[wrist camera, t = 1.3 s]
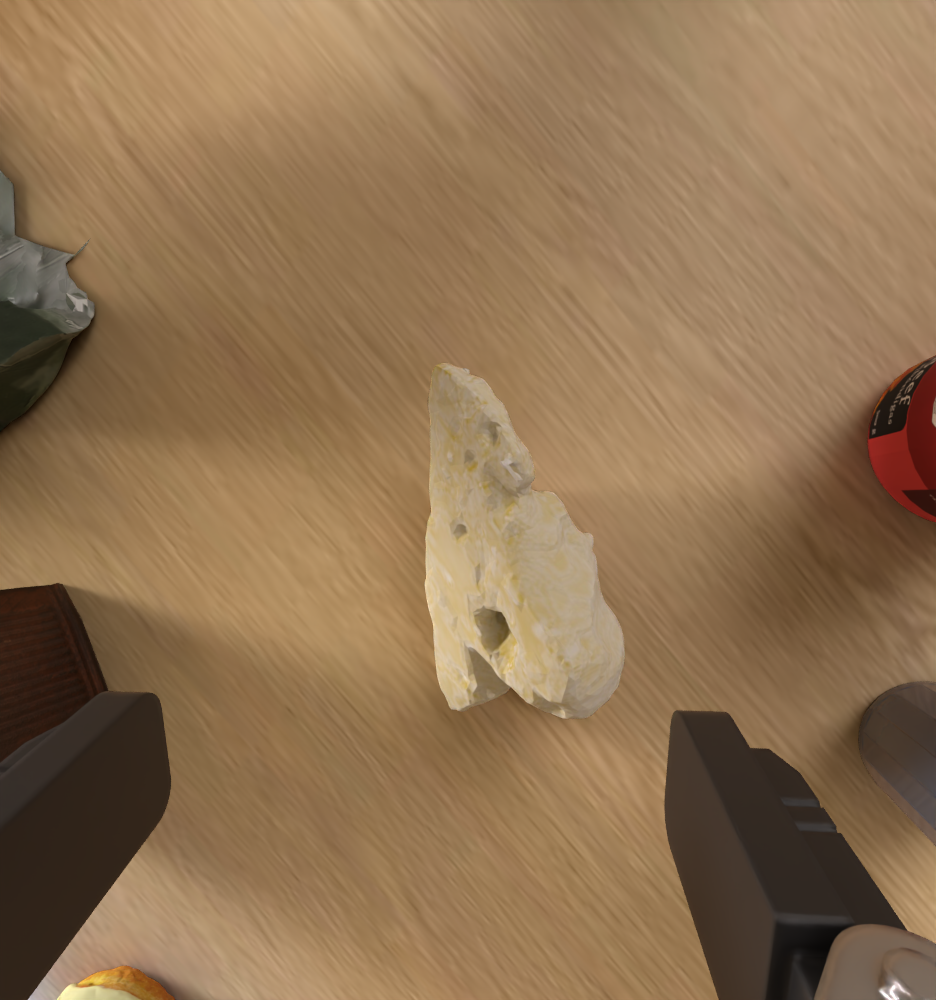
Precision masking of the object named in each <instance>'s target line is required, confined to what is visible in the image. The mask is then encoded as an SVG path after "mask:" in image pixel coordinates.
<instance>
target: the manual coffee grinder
mask: <svg viewBox="0 0 936 1000" xmlns="http://www.w3.org/2000/svg"><path fill="white" fill-rule="evenodd" d="M105 691H108V688H107V685H106V683H105V680H104V678H103V675H102V672H101V670H100V667H99V664H98V662H97V659H96V656H95V654H94V651H93V648H92V646H91V643H90V641H89V638H88V635H87V633H86V630H85V627H84V625H83V622H82V620H81V618H80V616H79V614H78V612H77V611H76V609H75V607H74V605H73V603H72V601H71V599H70V598H69V596H68V594H67V592H66V590H65V588H64V586H63V585H62V584H59V583H56V584H53V585H46V586H34V587H23V588H14V589H6V590H0V763H1V762H2V761H3V760H4V759H6V758H7V757H8V756H9V755H10V754H12V753H13V752H14V751H15V750H17V749H18V748H19V747H20V746H22V745H23V744H24V743H25V742H27V741H29V740H31V739H33V738H35V737H37V736H39V735H41V734H43V733H44V732H46V731H48V730H50V729H52V728H54V727H56V726H58V725H60V724H62V723H64V722H65V721H66V720H68V719H69V718H70V717H71V716H72V715H73V714H75V713H76V712H77V711H78V710H79V709H81V708H82V707H83V706H84V705H85V704H87V703H88V702H89V701H90V700H91V699H93V698H94V697H95V696H96V695H98V694H99V693H101V692H105Z"/></svg>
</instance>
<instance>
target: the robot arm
mask: <svg viewBox="0 0 936 1000" xmlns="http://www.w3.org/2000/svg"><path fill="white" fill-rule="evenodd" d="M170 789H171V774H170V767H169V759H168V752H167V744H166V737H165V729H164V722H163V714H162V707H161V703H160V700H159V699H158V697H157V696H156V695H155V694H153V693H147V692H114V691H105V692H101V693H99V694H98V695H96V696H95V697H94V698H93V699H91V700H90V701H89V702H88V703H87V704H85V705H84V706H83V707H82V708H81V709H79V710H78V711H77V712H76V713H75V714H73V715H72V716H71V717H70V718H69V719H68V720H66V721H65V722H64V723H62V724H60V725H58V726H56V727H54V728H52V729H50V730H48V731H46V732H44V733H43V734H41V735H39V736H37V737H35V738H33V739H31V740H29V741H27V742H25V743H24V744H23V745H22V746H20V747H19V748H18V749H17V750H15V751H14V752H13V753H12V754H10V755H9V756H8V757H7V758H6V759H4V760H3V761H2V762H1V763H0V1000H28V998H29V997H30V996H31V994H32V993H33V992H34V990H35V989H36V988H37V986H38V985H39V984H40V982H41V981H42V980H43V978H44V977H45V976H46V974H47V973H48V971H49V970H50V969H51V967H52V966H53V965H54V963H55V962H56V961H57V959H58V958H59V957H60V955H61V954H62V953H63V951H64V950H65V949H66V947H67V946H68V944H69V943H70V942H71V940H72V939H73V938H74V936H75V935H76V934H77V932H78V931H79V930H80V928H81V927H82V926H83V924H84V923H85V922H86V920H87V919H88V917H89V916H90V915H91V913H92V912H93V911H94V909H95V908H96V907H97V905H98V904H99V903H100V901H101V900H102V899H103V897H104V896H105V895H106V893H107V892H108V890H109V889H110V888H111V886H112V885H113V884H114V882H115V881H116V880H117V878H118V877H119V876H120V874H121V873H122V872H123V870H124V869H125V868H126V866H127V865H128V863H129V862H130V861H131V859H132V858H133V857H134V855H135V854H136V853H137V851H138V850H139V849H140V847H141V846H142V845H143V843H144V842H145V841H146V839H147V838H148V836H149V835H150V834H151V832H152V831H153V830H154V828H155V827H156V826H157V824H158V823H159V821H160V820H161V818H162V816H163V814H164V812H165V809H166V806H167V804H168V800H169V796H170ZM665 822H666V830H667V836H668V841H669V845H670V849H671V852H672V855H673V858H674V861H675V864H676V867H677V871H678V874H679V877H680V880H681V883H682V886H683V889H684V892H685V895H686V899H687V902H688V905H689V908H690V911H691V914H692V917H693V920H694V924H695V927H696V930H697V933H698V936H699V939H700V942H701V945H702V948H703V952H704V955H705V958H706V961H707V964H708V967H709V970H710V973H711V977H712V980H713V983H714V986H715V989H716V992H717V995H718V998H719V1000H936V944H935V943H933V942H931V941H930V940H928V939H926V938H923V937H921V936H919V935H916V934H914V933H912V932H909V931H907V929H906V928H905V926H904V925H903V923H902V922H901V920H900V919H899V918H898V916H897V915H896V913H895V912H894V910H893V909H892V907H891V906H890V904H889V903H888V901H887V900H886V899H885V897H884V896H883V894H882V893H881V891H880V890H879V888H878V887H877V885H876V884H875V882H874V881H873V879H872V878H871V877H870V875H869V874H868V872H867V871H866V869H865V868H864V866H863V865H862V863H861V862H860V860H859V859H858V857H857V856H856V855H855V853H854V852H853V850H852V849H851V847H850V846H849V844H848V843H847V841H846V840H845V838H844V837H843V835H842V834H841V833H837V830H836V825H835V824H834V822H833V821H832V819H831V818H830V816H829V815H828V814H827V812H826V811H825V809H824V808H821V807H820V803H819V800H818V799H817V797H816V796H815V794H814V793H813V792H812V790H811V789H810V787H809V786H808V784H807V783H806V781H805V780H804V778H803V777H802V775H801V774H800V773H799V772H798V771H797V770H795V769H794V768H793V767H791V766H790V765H789V764H788V763H786V762H785V761H784V760H782V759H781V758H780V757H779V756H777V755H776V754H775V753H773V752H772V751H771V750H770V749H759V748H750V747H749V745H748V744H747V742H746V740H745V739H744V737H743V735H742V734H741V732H740V730H739V729H738V727H737V725H736V724H735V722H734V720H733V719H732V717H731V716H730V714H728V713H727V712H713V711H681V710H676V711H675V712H674V713H673V715H672V719H671V726H670V738H669V751H668V763H667V776H666V788H665Z"/></svg>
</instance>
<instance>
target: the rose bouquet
mask: <svg viewBox="0 0 936 1000" xmlns="http://www.w3.org/2000/svg"><path fill="white" fill-rule="evenodd" d="M90 239H91V238H90ZM90 239H89V240H90ZM88 242H89V241H88ZM88 242H87V243H88ZM87 243H86V244H87ZM86 244H85V245H84V246H83V247H82V248H81V249H80V250H79V251H78V252H77V253H76V254H75V255H77V254H78V253H79V252H80V251H82V250H83V249H84V247H85V246H86ZM75 255H72V254H69V253H65V252H62V251H58V250H55V249H51V248H47V247H44V246H41V245H38V244H36V243H33V242H31V241H28V240H25V239H23V238H20V237H17V236H15V225H14V190H13V184H12V182H10V180H9V178H7V177H5V176H4V174H3V173H2V172H1V170H0V431H1V430H2V429H3V428H5V427H6V426H7V425H8V424H9V423H10V422H11V421H13V420H15V419H16V418H18V417H20V416H21V415H23V414H24V413H25V412H26V411H27V410H28V409H29V408H30V407H31V406H32V405H33V404H34V403H35V401H36V400H37V399H38V398H39V397H40V396H41V395H42V394H43V393H44V392H45V391H46V390H47V388H48V387H49V386H50V385H51V383H52V382H53V380H54V378H55V377H56V376H57V374H58V372H59V370H60V367H61V365H62V363H63V360H64V358H65V354H66V351H67V349H68V347H69V344H70V342H71V340H72V338H74V337H76V336H77V335H78V334H79V333H80V332H81V331H82V330H84V329H85V328H87V327H88V326H89V324H90V321H91V319H92V318H93V317H94V312H95V306H94V303H93V302H92V301H90V300H88V299H87V294H86V292H84V291H82V290H80V289H78V288H77V286H76V284H75V283H74V281H73V280H72V279H71V278H70V277H69V275H68V271H67V268H66V264H65V263H66V262H68V261H69V260H70V259H71V258H73V257H74V256H75Z"/></svg>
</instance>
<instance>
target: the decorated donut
mask: <svg viewBox="0 0 936 1000" xmlns="http://www.w3.org/2000/svg"><path fill="white" fill-rule="evenodd" d="M57 1000H175V998H174V997H173V996H171V995H169V994H168V993H167V992H166V990H165V989H164V988H163V987H162V986H161V985H160V984H159V982H157V981H155V980H153V979H151V978H149V977H147V976H146V975H145V974H144V973H142V972H141V971H140V970H138V969H133V968H131V967H130V966H120V967H117V968H115V969H110V970H104V971H100V972H97V973H94V974H92V975H91V976H89V977H88V978H86V979H84V980H82V981H81V982H80V983H78V984H71V985H69V986H68V987H67V988H66V989H65V990H64V991H63V992H62V994H61V995H60V996H59V998H58V999H57Z"/></svg>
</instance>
